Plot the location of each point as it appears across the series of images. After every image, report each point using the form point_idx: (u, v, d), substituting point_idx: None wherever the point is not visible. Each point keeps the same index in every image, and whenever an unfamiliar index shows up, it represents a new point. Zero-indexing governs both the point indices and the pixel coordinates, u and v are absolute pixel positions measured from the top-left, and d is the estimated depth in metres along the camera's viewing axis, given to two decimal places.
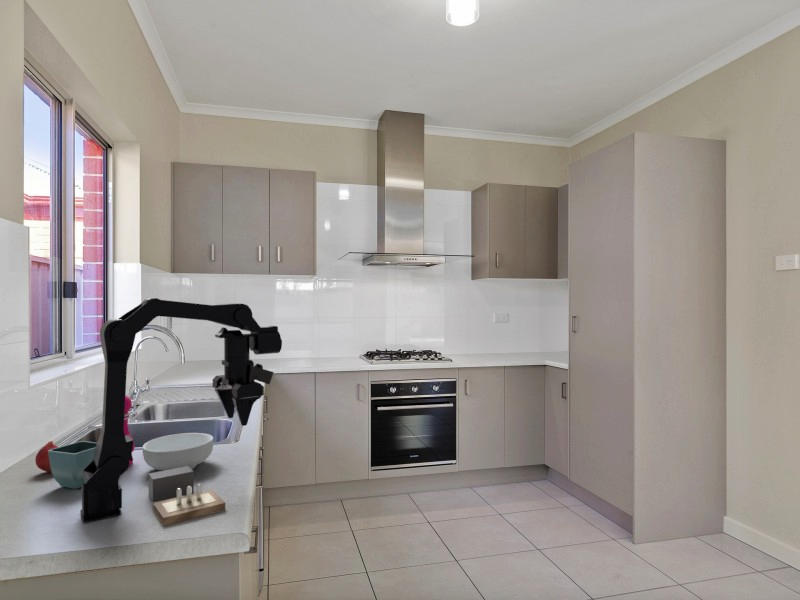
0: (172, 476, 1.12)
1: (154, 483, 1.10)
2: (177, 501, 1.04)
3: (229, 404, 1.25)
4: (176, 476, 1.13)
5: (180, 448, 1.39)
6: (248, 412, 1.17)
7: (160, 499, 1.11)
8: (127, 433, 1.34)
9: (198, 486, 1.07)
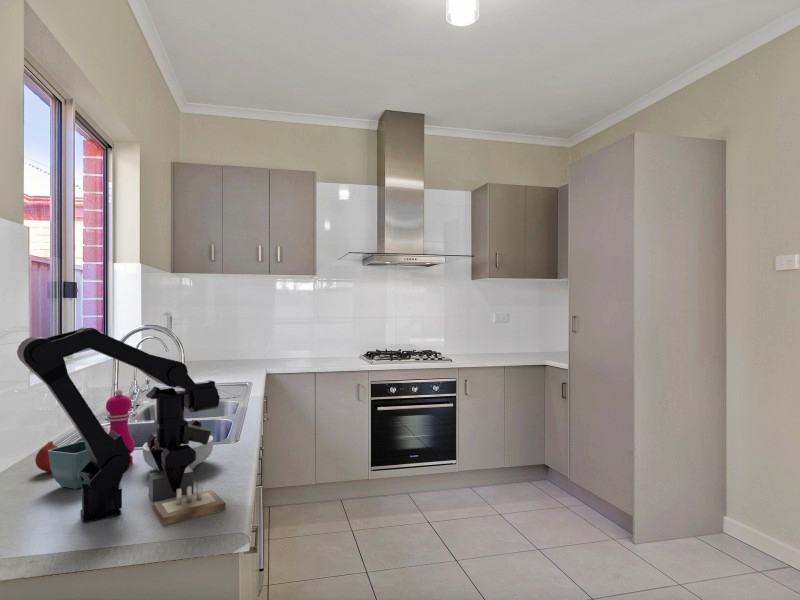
0: None
1: (154, 483, 1.10)
2: (177, 501, 1.04)
3: None
4: None
5: None
6: (180, 478, 1.10)
7: (160, 499, 1.11)
8: (127, 433, 1.34)
9: (198, 486, 1.07)
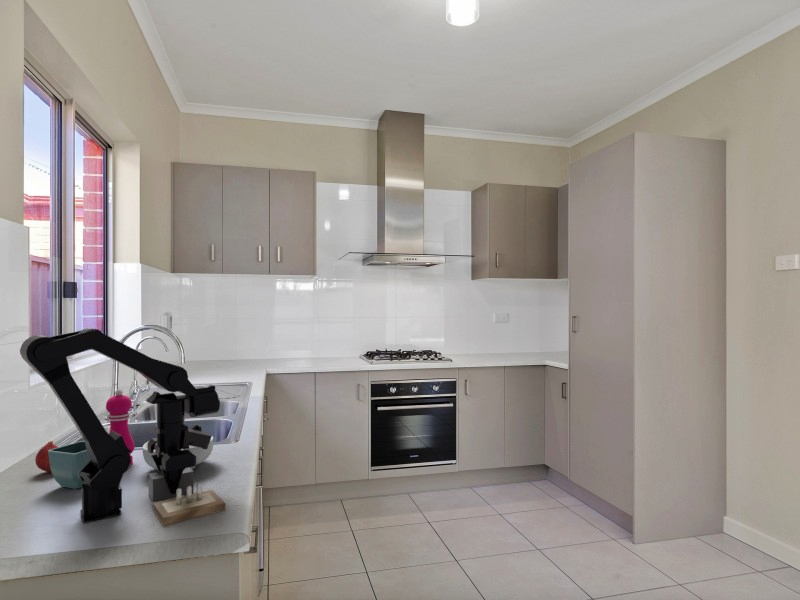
0: None
1: (154, 483, 1.10)
2: (177, 501, 1.04)
3: None
4: None
5: None
6: (177, 480, 1.12)
7: (160, 499, 1.11)
8: (127, 433, 1.34)
9: (198, 486, 1.07)
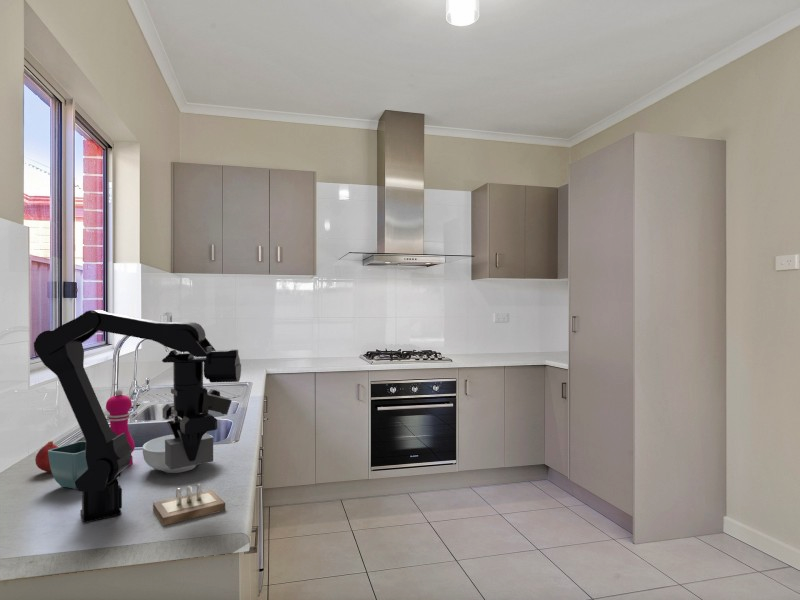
0: None
1: (172, 449, 1.02)
2: (177, 501, 1.04)
3: None
4: None
5: None
6: (196, 446, 1.04)
7: (178, 466, 1.03)
8: (127, 433, 1.34)
9: (198, 486, 1.07)
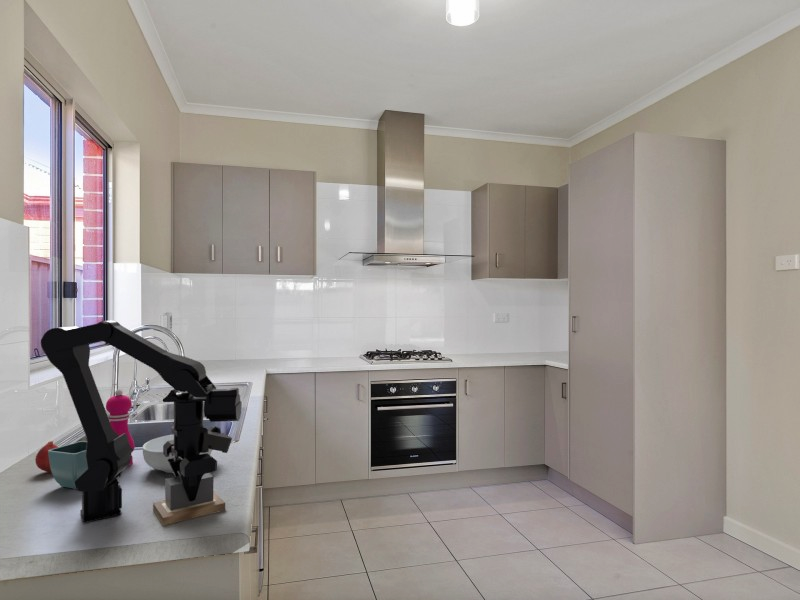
0: None
1: (172, 489, 1.02)
2: None
3: None
4: None
5: None
6: (196, 486, 1.03)
7: (178, 507, 1.03)
8: (127, 433, 1.34)
9: None
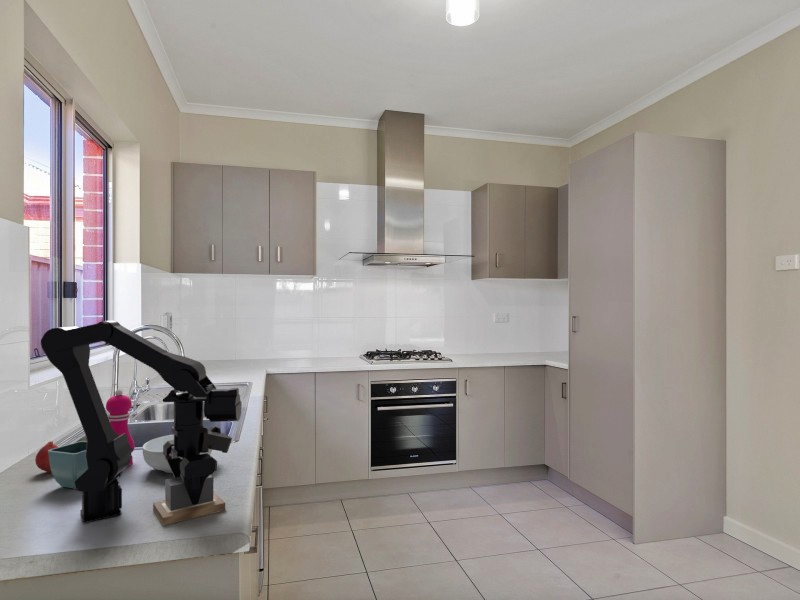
0: None
1: (172, 490, 1.02)
2: None
3: None
4: None
5: None
6: (199, 489, 1.02)
7: (178, 507, 1.03)
8: (127, 433, 1.34)
9: None
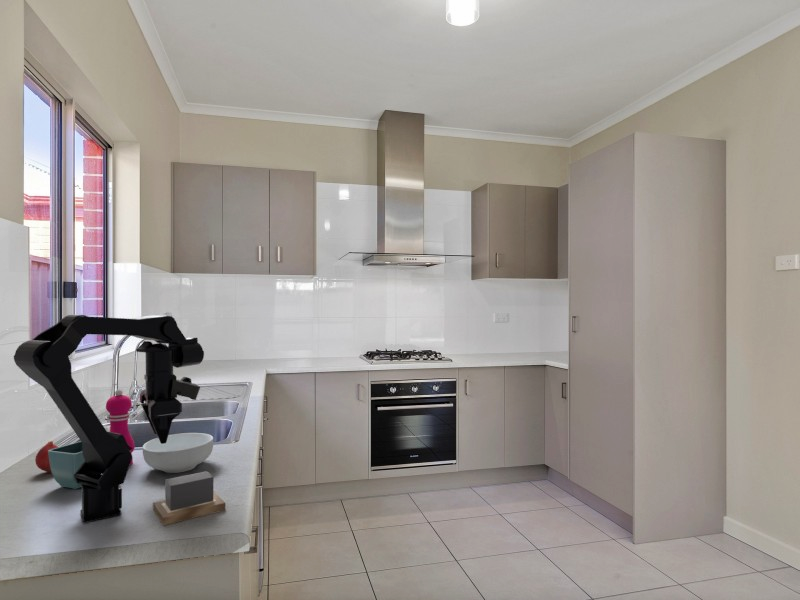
0: (191, 482, 1.04)
1: (172, 490, 1.02)
2: None
3: None
4: (195, 482, 1.05)
5: (180, 448, 1.39)
6: (167, 429, 1.12)
7: (178, 507, 1.03)
8: (127, 433, 1.34)
9: None
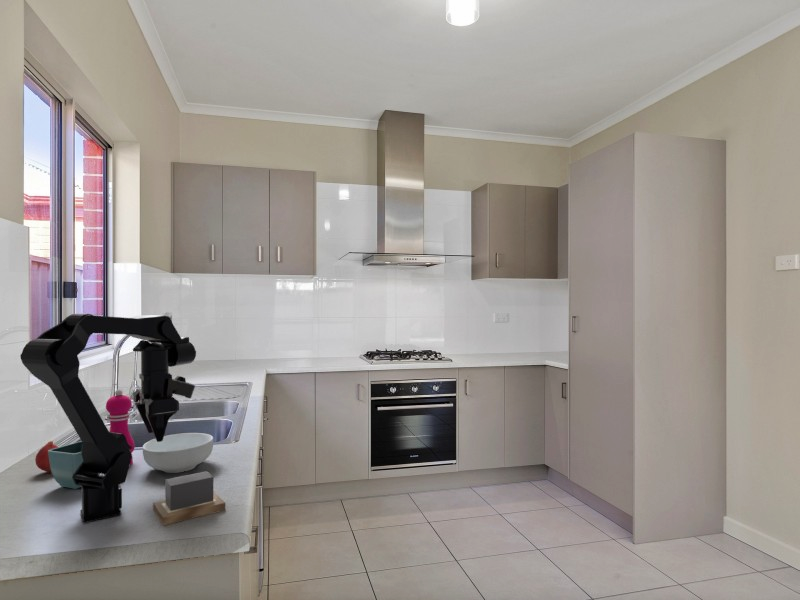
0: (191, 482, 1.04)
1: (172, 490, 1.02)
2: None
3: None
4: (195, 482, 1.05)
5: (180, 448, 1.39)
6: (163, 428, 1.13)
7: (178, 507, 1.03)
8: (127, 433, 1.34)
9: None
